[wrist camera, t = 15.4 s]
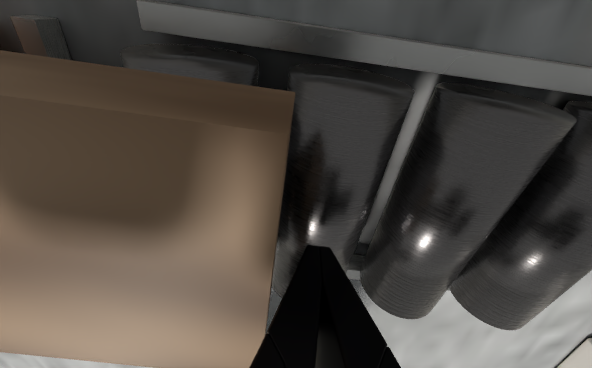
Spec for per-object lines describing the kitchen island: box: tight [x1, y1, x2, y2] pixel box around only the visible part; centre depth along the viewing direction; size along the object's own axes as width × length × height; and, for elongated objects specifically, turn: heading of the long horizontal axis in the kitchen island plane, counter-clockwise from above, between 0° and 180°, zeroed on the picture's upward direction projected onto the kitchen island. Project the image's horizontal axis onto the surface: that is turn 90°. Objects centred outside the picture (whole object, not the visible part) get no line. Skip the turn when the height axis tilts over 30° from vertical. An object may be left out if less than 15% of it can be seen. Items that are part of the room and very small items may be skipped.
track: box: [10, 0, 592, 330], centre depth 11 cm, size 12×29×4 cm, turn 83°
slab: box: [0, 50, 295, 368], centre depth 8 cm, size 10×14×2 cm
